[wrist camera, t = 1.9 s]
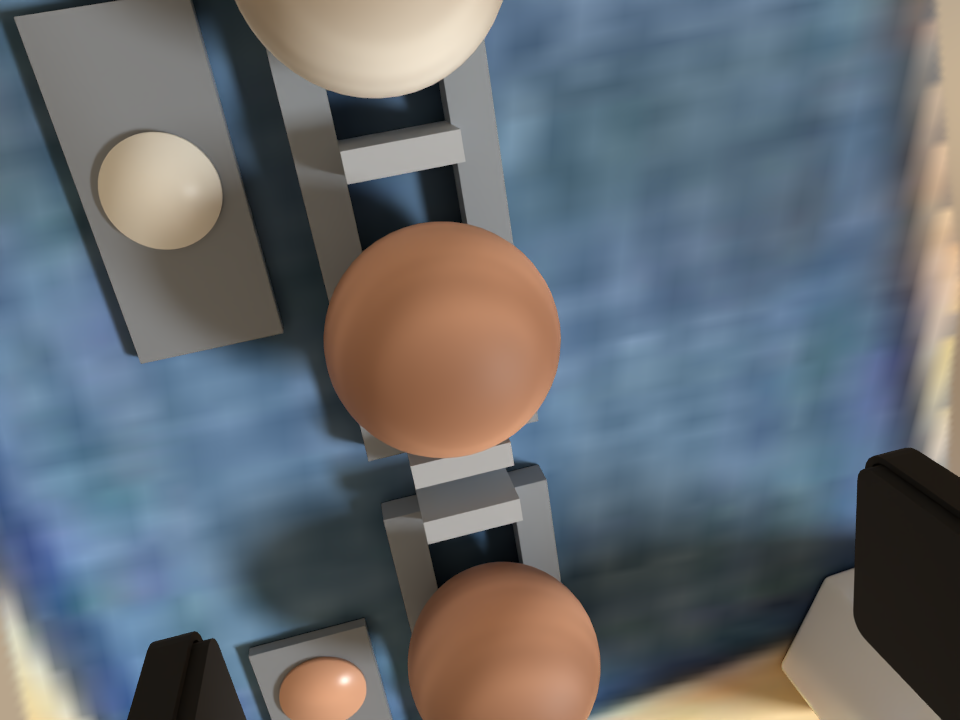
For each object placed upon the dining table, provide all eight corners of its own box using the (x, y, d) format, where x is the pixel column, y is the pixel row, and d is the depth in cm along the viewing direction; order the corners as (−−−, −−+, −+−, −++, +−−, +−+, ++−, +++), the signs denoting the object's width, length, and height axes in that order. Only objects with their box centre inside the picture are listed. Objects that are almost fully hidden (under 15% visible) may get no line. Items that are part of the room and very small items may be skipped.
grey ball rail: (190, -263, 17) (172, -308, 15) (428, -291, 18) (444, -338, 16) (469, 860, 33) (480, 918, 30) (590, 822, 33) (610, 877, 31)
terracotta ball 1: (298, 224, 21) (294, 287, 15) (512, 182, 22) (579, 228, 16) (348, 417, 23) (359, 531, 18) (538, 374, 24) (604, 469, 19)
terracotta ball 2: (382, 550, 25) (401, 689, 20) (556, 506, 26) (621, 628, 21) (416, 684, 28) (441, 840, 22) (575, 640, 28) (637, 781, 23)
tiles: (19, 17, 18) (10, 16, 18) (189, -10, 19) (186, -11, 18) (312, 821, 30) (312, 836, 29) (413, 792, 30) (414, 805, 30)
